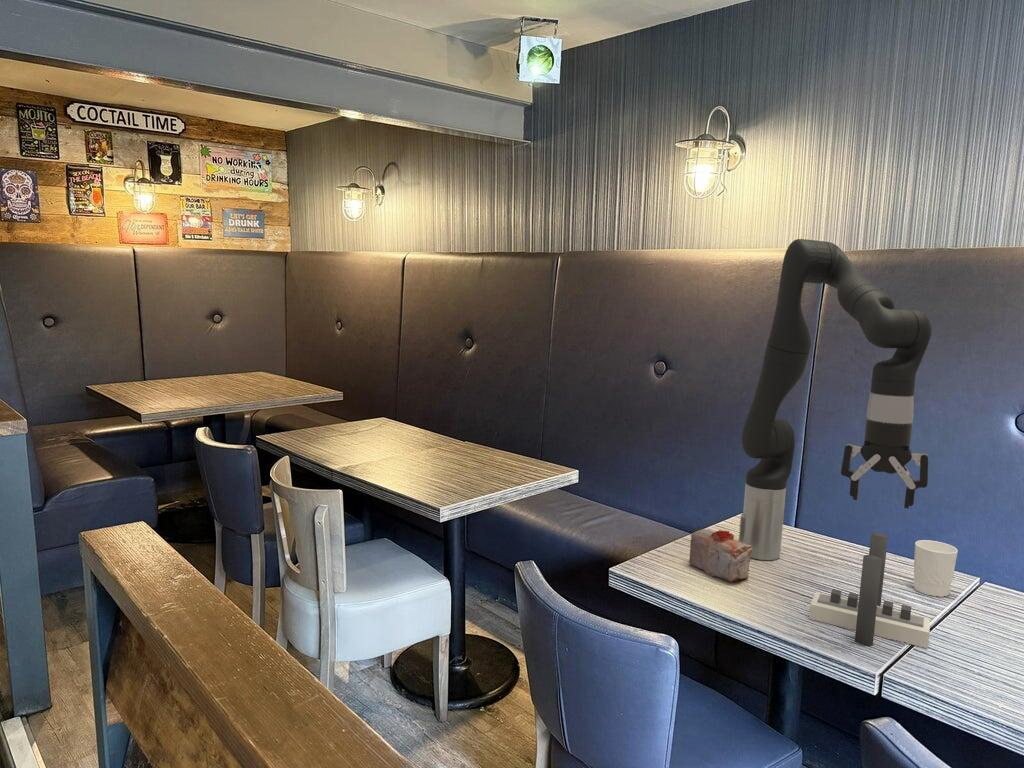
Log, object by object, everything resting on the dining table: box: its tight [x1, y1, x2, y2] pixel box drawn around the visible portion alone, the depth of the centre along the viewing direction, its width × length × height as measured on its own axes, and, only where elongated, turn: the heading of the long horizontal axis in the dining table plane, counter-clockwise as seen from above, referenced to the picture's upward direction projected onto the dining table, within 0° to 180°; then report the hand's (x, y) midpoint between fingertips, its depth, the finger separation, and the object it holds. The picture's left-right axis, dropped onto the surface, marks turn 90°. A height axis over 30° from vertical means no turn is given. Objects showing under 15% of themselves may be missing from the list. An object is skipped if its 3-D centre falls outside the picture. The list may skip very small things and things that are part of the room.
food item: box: [688, 528, 753, 582], centre depth 159 cm, size 14×8×10 cm, turn 36°
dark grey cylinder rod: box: [868, 531, 889, 607], centre depth 141 cm, size 3×3×16 cm
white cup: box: [913, 539, 959, 598], centre depth 153 cm, size 8×8×10 cm
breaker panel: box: [808, 588, 931, 649], centre depth 136 cm, size 20×7×5 cm, turn 58°
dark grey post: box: [854, 554, 882, 647], centre depth 129 cm, size 3×3×16 cm
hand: (880, 503), depth 133 cm, fingers open, 8 cm apart
